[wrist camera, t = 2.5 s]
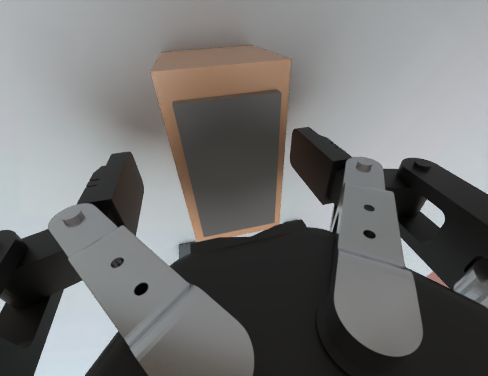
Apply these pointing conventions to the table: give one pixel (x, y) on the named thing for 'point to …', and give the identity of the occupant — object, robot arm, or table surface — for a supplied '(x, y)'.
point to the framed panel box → (226, 134)
